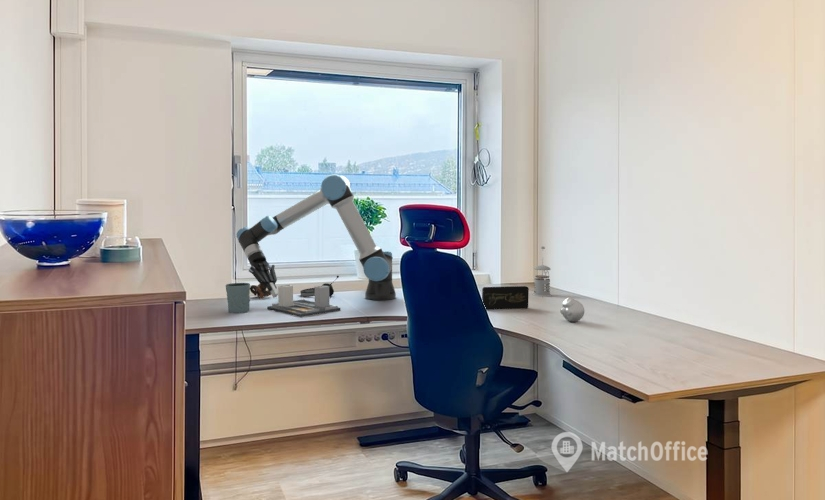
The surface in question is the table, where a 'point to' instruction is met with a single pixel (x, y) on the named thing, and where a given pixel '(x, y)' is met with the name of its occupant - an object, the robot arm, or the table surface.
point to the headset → (311, 291)
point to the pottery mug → (260, 291)
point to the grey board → (302, 308)
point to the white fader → (285, 295)
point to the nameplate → (505, 297)
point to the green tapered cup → (238, 297)
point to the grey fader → (322, 296)
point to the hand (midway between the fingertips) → (275, 295)
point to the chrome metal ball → (572, 309)
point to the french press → (542, 282)
